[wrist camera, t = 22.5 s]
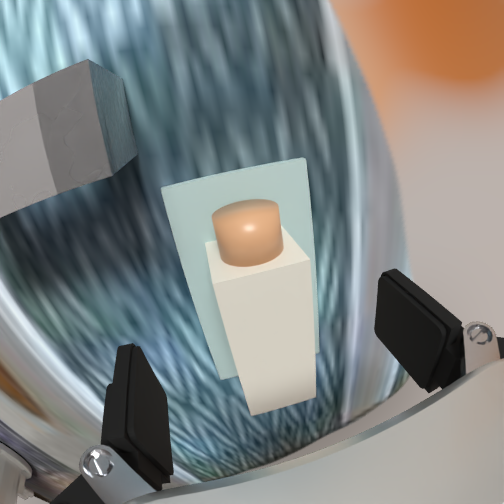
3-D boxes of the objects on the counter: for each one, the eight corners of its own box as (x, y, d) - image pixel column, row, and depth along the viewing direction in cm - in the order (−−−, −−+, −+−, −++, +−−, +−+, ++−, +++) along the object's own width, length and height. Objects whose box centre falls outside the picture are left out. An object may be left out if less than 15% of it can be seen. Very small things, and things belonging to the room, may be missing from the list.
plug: (295, 353, 21) (316, 396, 17) (238, 369, 21) (251, 415, 17) (276, 189, 16) (306, 215, 12) (196, 207, 15) (201, 239, 11)
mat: (316, 348, 22) (319, 352, 22) (219, 375, 21) (220, 379, 21) (302, 157, 16) (305, 159, 15) (161, 187, 15) (160, 189, 14)
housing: (138, 153, 14) (112, 175, 9) (-10, 209, 13) (-66, 250, 8) (122, 78, 12) (87, 59, 7) (-27, 147, 11) (-90, 169, 6)
